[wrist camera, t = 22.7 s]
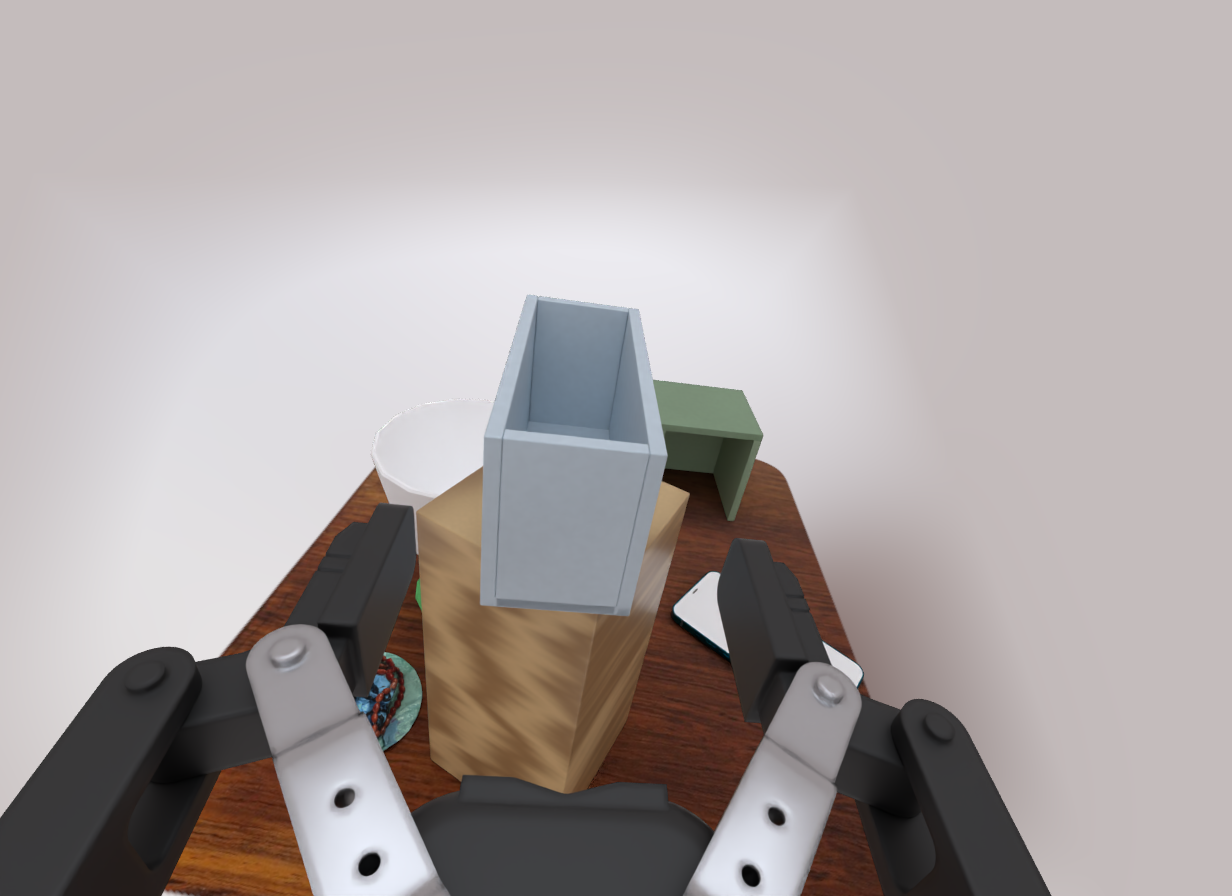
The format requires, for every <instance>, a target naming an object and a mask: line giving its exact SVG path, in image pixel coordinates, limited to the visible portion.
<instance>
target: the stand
mask: <svg viewBox="0 0 1232 896" xmlns="http://www.w3.org/2000/svg"><path fill="white" fill-rule="evenodd" d="M482 492H483V466H482V467H481V468H479V469H478V470H476V471H475V472H473V473H472V474H470V475H469V476H467V477H466V478H464V479H463V480H461V481H460V482H459V483H457V484H456V485H454V486H453V487H451V488H450V489H448V490H447V491H445V492H444V493H442V494H441V495H439V496H438V497H436V498H435V499H433V500H432V501H430V502H429V503H427V504H426V505H424V506H423V507H422V508H420V509H419V510H417V511H416V521H417V538H418V555H419V572H420V588H421V605H422V622H423V639H424V656H425V672H426V689H427V706H428V723H429V739H430V756H431V760H432V761H434V762H435V763H436V764H438V765H439V766H440V767H442V768H443V769H445V770H446V771H447V772H449V773H450V774H451V775H453V776H454V777H455V778H457V779H458V780H460V781H462V776H463V775H479V776H500V777H515V778H518V779H521V780H524V781H527V782H530V783H533V784H536V785H539V786H542V787H545V788H548V789H551V790H554V791H557V792H560V793H564V794H569V793H574V792H578V791H583V790H587V788H588V786H589V785H590V783H591V781H592V780H593V778H594V776H595V774H596V773H597V771H598V769H599V768H600V766H601V764H602V762H603V761H604V759H605V757H606V755H607V754H608V752H609V750H610V749H611V747H612V745H613V743H614V742H615V740H616V738H617V736H618V735H619V733H620V731H621V730H622V728H623V726H624V724H625V723H626V721H627V717H628V714H629V710H630V706H631V703H632V699H633V696H634V692H635V689H636V685H637V681H638V678H639V674H640V671H641V667H642V663H643V660H644V656H645V653H646V649H647V646H648V642H649V638H650V635H651V631H652V628H653V624H654V621H655V617H656V613H657V610H658V606H659V603H660V599H661V595H662V592H663V588H664V585H665V581H666V578H667V574H668V570H669V567H670V563H671V560H672V556H673V553H674V549H675V545H676V542H677V538H678V535H679V531H680V527H681V524H682V520H683V517H684V513H685V510H686V506H687V502H688V499H689V495H690V494H689V493H688V492H686V491H683V490H681V489H679V488H676V487H674V486H672V485H670V484H667V483H665V482H663V481H662V482H661V486H660V490H659V494H658V498H657V502H656V506H655V511H654V515H653V519H652V523H651V527H650V531H649V536H648V540H647V544H646V548H645V552H644V556H643V560H642V565H641V569H640V573H639V577H638V581H637V585H636V590H635V594H634V598H633V602H632V606H631V610H630V614H629V616H618V615H605V614H591V613H578V612H564V611H550V610H537V609H523V608H509V607H496V606H483V605H480V576H481V534H482Z"/></svg>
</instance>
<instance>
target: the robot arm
mask: <svg viewBox="0 0 1232 896" xmlns="http://www.w3.org/2000/svg"><path fill="white" fill-rule="evenodd" d="M415 562H416V539H415V522H414V509H413V507H412V506H408V505H398V504H387V503H379V504H378V506H377V507H376V509H375V511H374V513H373V515H372V517H371V519H370V521H369V523H358V522H353V523H352V524H350V525H349V526H348V527H347V528H345V529H344V530H343V531H342V532H340V533H339V534H338V535H337V536H335V538H334V540H333V542H332V543H331V545H330V547H329V549H328V550H327V552H326V556H325V557H323V559H322V561H321V563H320V564H319V566H318V570H317V571H315V573H314V575H313V577H312V578H311V580H310V582H309V584H308V585H307V587H306V589H305V591H304V592H303V594H302V596H301V598H300V599H299V601H298V603H297V605H296V606H295V608H294V610H293V612H292V613H291V615H290V617H289V619H288V620H287V622H286V624H285V625H284V627H282V628H279V629H277V630H275V631H273V632H271V633H269V634H267V635H266V636H264V637H263V638H262V639H260V640H259V641H258V642H257V643H256V644H255V645H254V647H253V648H252V649H251V650H249V651H246V652H243V653H239V654H234V655H229V656H224V657H219V658H214V659H208V660H203V661H198V662H195V660H194V658H193V657H192V655H191V654H190V653H189V652H188V651H186V650H184V649H181V648H177V647H160V648H154V649H150V650H147V651H144V652H141V653H138V654H136V655H134V656H132V657H130V658H128V659H127V660H125V661H123V662H122V663H120V664H119V665H118V666H116V667H115V668H114V669H113V670H112V671H111V672H110V673H108V675H107V676H106V677H105V678H104V679H103V681H102V682H101V683H100V685H99V686H98V687H97V689H96V690H95V691H94V693H93V694H92V695H91V697H90V698H89V700H88V701H87V702H86V703H85V705H84V706H83V708H82V709H81V710H80V712H79V713H78V714H77V716H76V717H75V718H74V720H73V721H72V722H71V724H70V725H69V727H68V728H67V729H66V730H65V732H64V733H63V735H62V736H61V737H60V738H59V740H58V741H57V742H56V744H55V745H54V746H53V748H52V749H51V750H50V752H49V753H48V755H47V756H46V757H45V759H44V760H43V761H42V763H41V764H40V766H39V767H38V768H37V769H36V771H35V772H34V773H33V775H32V776H31V777H30V779H29V780H28V781H27V783H26V784H25V786H24V787H23V788H22V789H21V791H20V792H19V794H18V795H17V796H16V798H15V799H14V800H13V802H12V803H11V804H10V806H9V807H8V808H7V810H6V811H5V812H4V814H3V815H2V816H1V818H0V896H161V895H162V893H163V891H164V889H165V887H166V885H167V883H168V881H169V879H170V877H171V875H172V872H173V870H174V868H175V866H176V864H177V862H178V860H179V858H180V856H181V854H182V852H183V849H184V847H185V845H186V843H187V841H188V839H189V837H190V835H191V833H192V831H193V829H194V827H195V824H196V822H197V820H198V818H199V816H200V814H201V812H202V810H203V808H204V806H205V804H206V801H207V799H208V797H209V795H210V793H211V791H212V789H213V787H214V785H215V783H216V781H217V778H218V776H219V774H220V772H221V770H223V769H227V768H231V767H235V766H239V765H243V764H247V763H251V762H255V761H258V760H262V759H266V758H270V757H272V758H273V762H274V766H275V769H276V772H277V776H278V779H279V782H280V786H281V789H282V792H283V796H284V799H285V802H286V806H287V809H288V812H289V816H290V819H291V822H292V825H293V829H294V832H295V835H296V839H297V842H298V845H299V849H300V852H301V855H302V859H303V862H304V865H305V869H306V872H307V875H308V878H309V882H310V885H311V888H312V892H313V895H314V896H801V893H802V890H803V887H804V884H805V881H806V878H807V876H808V873H809V870H810V867H811V864H812V861H813V859H814V856H815V853H816V850H817V847H818V844H819V842H820V839H821V836H822V833H823V830H824V827H825V825H826V822H827V819H828V816H829V813H830V810H831V808H832V805H833V802H834V799H835V796H836V793H837V792H838V793H841V794H843V795H846V796H848V797H851V798H853V799H855V802H856V805H857V809H858V812H859V815H860V818H861V822H862V825H863V828H864V832H865V835H866V838H867V841H868V845H869V848H870V851H871V855H872V858H873V861H874V864H875V868H876V871H877V874H878V878H879V881H880V884H881V887H882V891H883V894H884V896H1051V894H1050V892H1049V890H1048V888H1047V886H1046V884H1045V882H1044V880H1043V878H1042V876H1041V874H1040V872H1039V871H1038V868H1037V867H1036V865H1035V863H1034V861H1033V859H1032V857H1031V855H1030V853H1029V851H1028V849H1027V847H1026V845H1025V843H1024V841H1023V839H1022V837H1021V836H1020V833H1019V831H1018V829H1017V827H1016V826H1015V823H1014V822H1013V820H1012V818H1011V816H1010V814H1009V812H1008V810H1007V808H1006V806H1005V804H1004V802H1003V800H1002V798H1001V796H1000V794H999V792H998V790H997V788H996V786H995V784H994V782H993V781H992V778H991V777H990V775H989V773H988V771H987V769H986V767H985V765H984V763H983V761H982V759H981V757H980V755H979V753H978V751H977V749H976V747H975V745H974V743H973V741H972V739H971V737H970V735H969V734H968V732H967V730H966V729H965V727H964V726H963V724H962V723H961V722H960V721H959V720H958V719H957V718H956V717H955V716H954V715H953V714H952V713H951V712H949V711H948V710H947V709H945V708H944V707H942V706H940V705H938V704H936V703H934V702H931V701H928V700H924V699H914V700H910V701H908V702H907V703H906V704H905V705H904V706H903V708H902V709H901V710H900V709H897V708H894V707H892V706H889V705H886V704H883V703H881V702H878V701H875V700H873V699H870V698H868V697H865V696H863V695H861V694H859V691H858V689H857V687H856V686H855V684H854V683H853V682H852V680H851V679H850V678H849V677H848V676H847V675H845V674H844V673H843V672H842V671H840V670H839V669H837V668H835V667H833V666H832V664H831V662H830V659H829V657H828V654H827V652H826V649H825V647H824V644H823V642H822V639H821V637H820V634H819V632H818V629H817V627H816V624H815V622H814V619H813V617H812V614H811V613H809V610H810V609H809V607H808V604H807V602H806V599H804V594H803V592H802V589H801V587H800V584H799V582H798V579H797V578H796V577H795V575H794V574H793V573H792V572H791V571H790V570H789V569H788V567H787V566H786V565H785V564H784V563H780V562H773V559H772V557H771V554H770V551H769V548H768V546H767V544H766V542H765V541H761V540H751V539H741V538H735V539H734V540H733V541H732V544H731V546H730V549H729V552H728V555H727V558H726V560H725V563H724V566H723V569H722V572H721V575H720V577H719V581H718V586H717V602H718V607H719V611H720V616H721V620H722V625H723V629H724V633H725V638H726V642H727V646H728V651H729V655H730V659H731V664H732V668H733V672H734V677H735V681H736V686H737V690H738V694H739V699H740V703H741V707H742V712H743V716H744V720H745V722H754V723H761V725H762V728H763V732H764V736H763V738H762V739H761V741H760V743H759V745H758V747H757V749H756V751H755V753H754V755H753V757H752V759H751V761H750V763H749V765H748V767H747V768H746V770H745V772H744V774H743V776H742V778H741V780H740V782H739V784H738V786H737V788H736V790H735V792H734V794H733V796H732V798H731V800H730V801H729V803H728V805H727V807H726V809H725V811H724V813H723V815H722V817H721V819H720V821H719V823H718V824H717V826H716V828H715V830H714V831H713V830H712V829H711V828H710V827H709V826H708V825H707V824H706V823H705V822H704V821H702V820H701V819H700V818H699V817H698V816H696V815H695V814H693V813H692V812H690V811H689V810H687V809H685V808H683V807H681V806H679V805H677V804H675V803H673V802H670V801H668V794H667V784H648V783H627V782H616V783H612V784H608V785H604V786H599V787H595V788H591V789H587V790H583V791H578V792H574V793H569V794H564V793H560V792H557V791H554V790H551V789H548V788H545V787H542V786H539V785H536V784H533V783H530V782H527V781H524V780H521V779H518V778H515V777H500V776H479V775H463V776H462V781H461V786H460V791H457V792H453V793H449V794H446V795H443V796H441V797H438V798H436V799H434V800H432V801H430V802H428V803H426V804H424V805H422V806H421V807H419V808H418V809H416V810H415V811H413V812H412V813H410V811H409V809H408V807H407V804H406V802H405V800H404V798H403V795H402V793H401V791H400V789H399V786H398V784H397V782H396V780H395V778H394V775H393V773H392V771H391V769H390V766H389V764H388V762H387V760H386V757H385V755H384V753H383V751H382V748H381V746H380V744H379V742H378V739H377V737H376V735H375V733H374V731H373V728H372V726H371V724H370V722H369V720H368V718H367V716H366V714H365V713H364V712H363V711H362V712H360V710H359V709H358V706H357V704H356V702H355V700H354V697H368V695H369V692H370V690H371V687H372V684H373V682H374V679H375V676H376V673H377V671H378V668H379V665H380V663H381V660H382V657H383V655H384V652H385V649H386V646H387V644H388V641H389V638H390V636H391V633H392V630H393V628H394V625H395V622H396V619H397V617H398V614H399V611H400V609H401V606H402V603H403V601H404V598H405V595H406V593H407V590H408V587H409V584H410V582H411V579H412V576H413V573H414V568H415Z"/></svg>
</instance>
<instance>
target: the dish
mask: <svg viewBox="0 0 1232 896" xmlns="http://www.w3.org/2000/svg"><path fill="white" fill-rule="evenodd" d="M354 700H355V702H356V704H357V706H358V709H359V710H360V712H362V711H363V712H364V713H365V714H366V716H367V718H368V720H369V722H370V724H371V726H372V728H373V731H374V733H375V735H376V737H377V739H378V742H379V744H380V746H381V748H382V751H384V750H386V749H387V748H389V747H390V746H391V745H393V744H394V743H396V742H397V741H399V740H400V739H401V738H402V737H403V736H404V735H405V734H406V733H407V732H408V731H409V729H410V728H411V726H412V725H413V723H414V721H415V719H416V717H417V715H418V712H419V709H420V705H421V700H422V687H421V683H420V680H419V677H418V675H417V673H416V671H415V670H414V668H413V667H412V666H411V665H410V664H409V663H407V662H406V661H405V660H403V659H402V658H400V657H399V656H397V655H394V654H391V653H386V652H384V655H383V657H382V660H381V663H380V665H379V668H378V671H377V673H376V676H375V679H374V682H373V684H372V687H371V690H370V692H369V695H368V697H354Z"/></svg>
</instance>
